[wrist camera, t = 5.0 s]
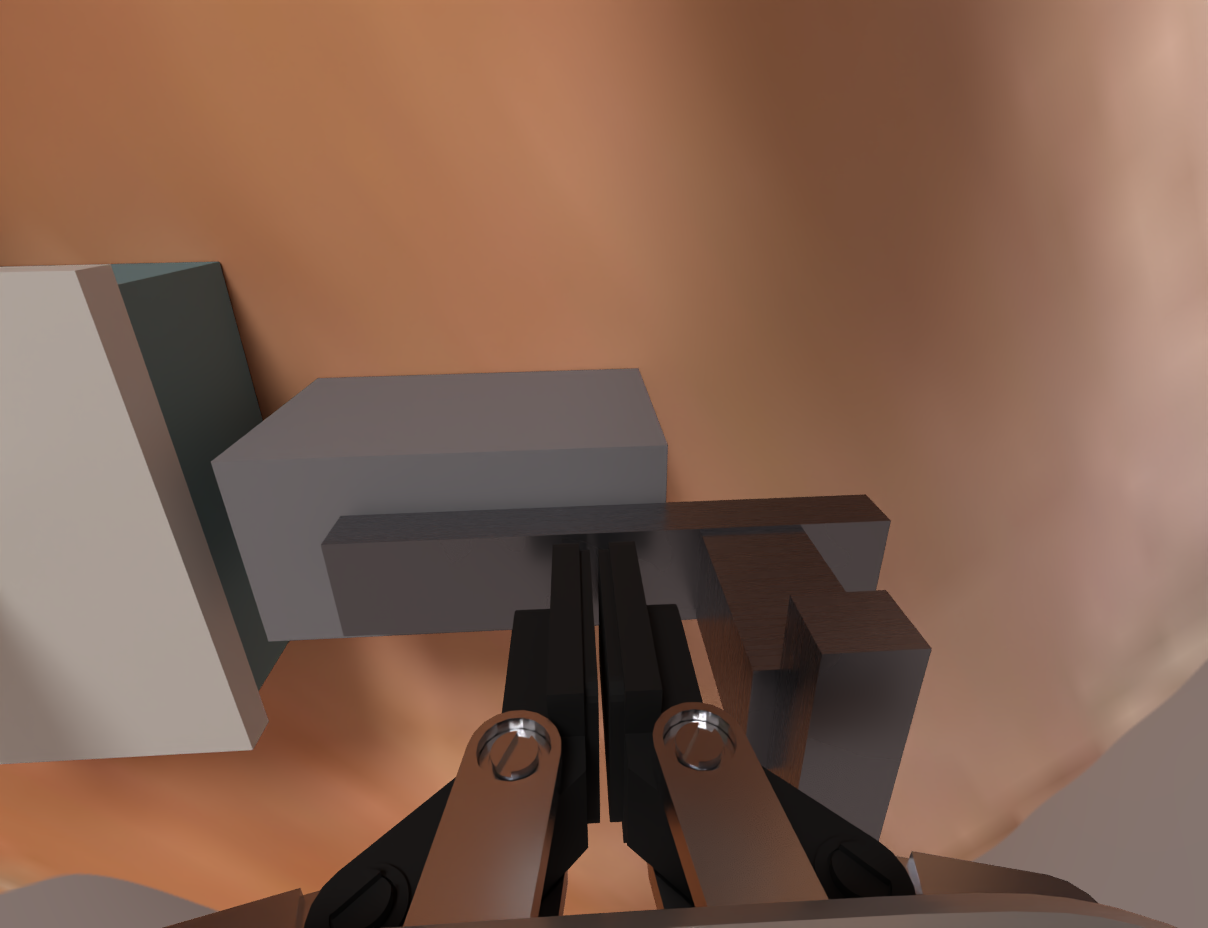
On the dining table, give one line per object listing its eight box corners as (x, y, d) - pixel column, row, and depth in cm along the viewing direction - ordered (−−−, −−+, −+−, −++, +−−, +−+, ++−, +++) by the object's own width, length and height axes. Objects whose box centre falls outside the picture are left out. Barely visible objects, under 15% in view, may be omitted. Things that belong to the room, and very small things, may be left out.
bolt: (328, 463, 13) (134, 689, 7) (875, 442, 13) (1107, 639, 8) (370, 644, 15) (247, 932, 9) (841, 621, 16) (1003, 880, 10)
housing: (-227, 271, 17) (-630, 317, 11) (639, 252, 18) (672, 284, 12) (-28, 618, 22) (-235, 770, 16) (636, 587, 23) (659, 720, 17)
